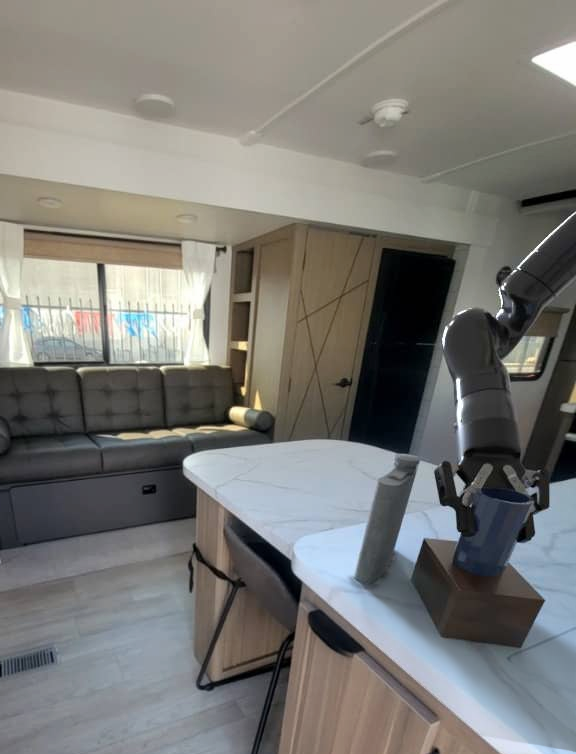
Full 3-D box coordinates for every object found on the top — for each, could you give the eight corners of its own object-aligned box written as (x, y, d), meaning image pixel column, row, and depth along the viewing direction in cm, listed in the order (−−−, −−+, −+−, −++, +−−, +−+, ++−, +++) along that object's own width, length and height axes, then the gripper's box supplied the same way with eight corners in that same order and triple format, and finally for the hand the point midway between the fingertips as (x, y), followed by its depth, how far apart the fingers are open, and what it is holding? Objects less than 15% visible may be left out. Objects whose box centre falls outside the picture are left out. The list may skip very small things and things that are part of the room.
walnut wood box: (475, 586, 67) (492, 544, 63) (521, 648, 54) (545, 600, 51) (410, 579, 68) (423, 537, 65) (441, 637, 56) (459, 589, 52)
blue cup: (490, 556, 60) (518, 487, 55) (511, 580, 55) (545, 506, 50) (445, 551, 61) (469, 483, 56) (462, 574, 56) (490, 501, 51)
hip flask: (377, 542, 79) (403, 442, 71) (399, 549, 77) (429, 447, 68) (351, 578, 68) (379, 465, 59) (376, 588, 66) (409, 472, 57)
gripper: (444, 411, 57) (451, 524, 52) (559, 418, 55) (578, 536, 49) (422, 438, 64) (426, 540, 59) (522, 445, 62) (536, 551, 56)
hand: (496, 538), depth 54 cm, fingers closed on blue cup, 6 cm apart
